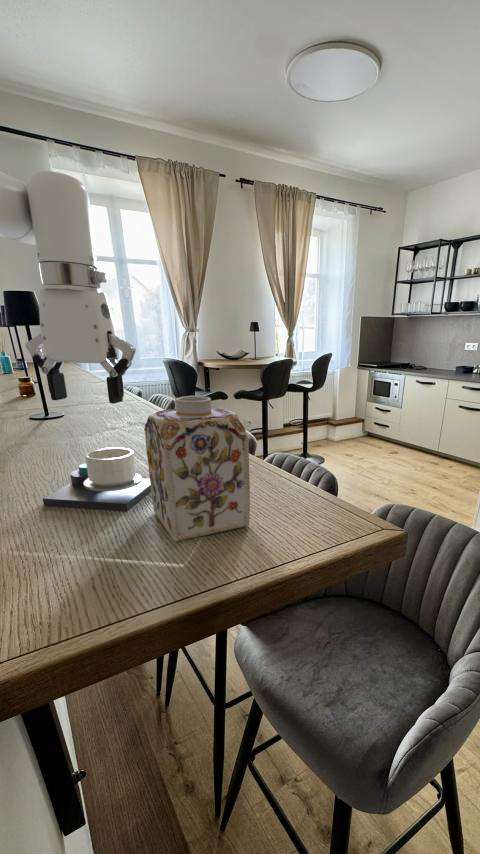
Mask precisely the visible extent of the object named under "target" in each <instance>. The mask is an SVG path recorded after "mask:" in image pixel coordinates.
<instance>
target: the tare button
mask: <svg viewBox="0 0 480 854" xmlns="http://www.w3.org/2000/svg"><path fill="white" fill-rule="evenodd" d="M78 469H79V473H80V475H88V472H87V466H86V463H81V464H79V465H78Z"/></svg>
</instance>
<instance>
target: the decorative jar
mask: <svg viewBox="0 0 480 854" xmlns="http://www.w3.org/2000/svg"><path fill="white" fill-rule="evenodd" d="M143 431H144V439H145V450H146V458H147V465H148V466H147V467H148V476H149V479H150V487H151V492H150V495H151V499H152V506H153V507H152V508H153V512H154V514H155V516H156V517H157V519H158V520H159V521H160V522H161V524H162V525H163V527H164V529H165V530H166V532H167V533H168V534H169V536H170V537H171V539H172V541H173V542H175V543H176V542H177V543H178V542H180V541H184V540H188V539H189V540H190V539H194V538H200V537H203V536H208V535H213V534H217V533H222V532H227V531H233V530H236V529H240V528H241V529H242V528H244V527H248V526H249V525H250V518H251V516H250V515H251V501H250V500H251V484H250V483H251V481H250V478H251V477H250V454H249V453H250V449H249V448H250V447H249V434H248V433H247V430H246V427H245V426H244V424H243V423H242V421H241V419H240V417H239V414H238V413H236V412H233V411H231V410H228V409H225V408H224V409H223V408H219V407H213V406H212V399H211V397H209V396H202V395H185V396H180V397H177V398H175V408H169V409H162V410H158V411H156V412H154V413H152V414H149V415H148V416H147V419H146V423H145V424H144V428H143Z"/></svg>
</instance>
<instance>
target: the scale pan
mask: <svg viewBox="0 0 480 854" xmlns="http://www.w3.org/2000/svg"><path fill="white" fill-rule="evenodd" d="M142 479H143V478H142V475H140V474H139V473H137V472H136V477H134V478H133V480H132V481H130V482H128V483H125V484H121V485H115V486H100V485H96V484H94V483H93V482H91V481H90V480H89V478H88V479H86V480H85V481H84V483H83V484H84V487H85V488H86V489H89V490H92V491H117V490H123V489H127V488H131V487H134V486H136V485H138V484H139V483H140V482H141V481H142Z"/></svg>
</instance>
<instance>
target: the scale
mask: <svg viewBox="0 0 480 854" xmlns="http://www.w3.org/2000/svg"><path fill="white" fill-rule="evenodd" d="M69 477H70V481H71V482H70V483H68V484H66V485H64V486H63V487H61V488H59V489H57V490H56V491H54V492H52V493H50V494H49V495H47V496H45V497H42V503H43V507H51V508H65V509H81V510H83V509H84V510H94V511H110V512H111V511H112V512H126V513H128V512H129V511H131V509H133V508H134V507H135V506H136V505H137V504H139V503H140V502H141V501H142V500H144V498H146V497H147V496H148V495H150V494H151V487H150V478H142V481H141V482H140V483H139V484H138V485H136V486H134V487H131V488H127V489H123V490H117V491H92V490H89V489H86V488H85V487H84V484H83V483H84V481H85V480H86V479H88V475H80V473H79V468H77V469H75V470H72V471H71V472H70V474H69Z"/></svg>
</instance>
